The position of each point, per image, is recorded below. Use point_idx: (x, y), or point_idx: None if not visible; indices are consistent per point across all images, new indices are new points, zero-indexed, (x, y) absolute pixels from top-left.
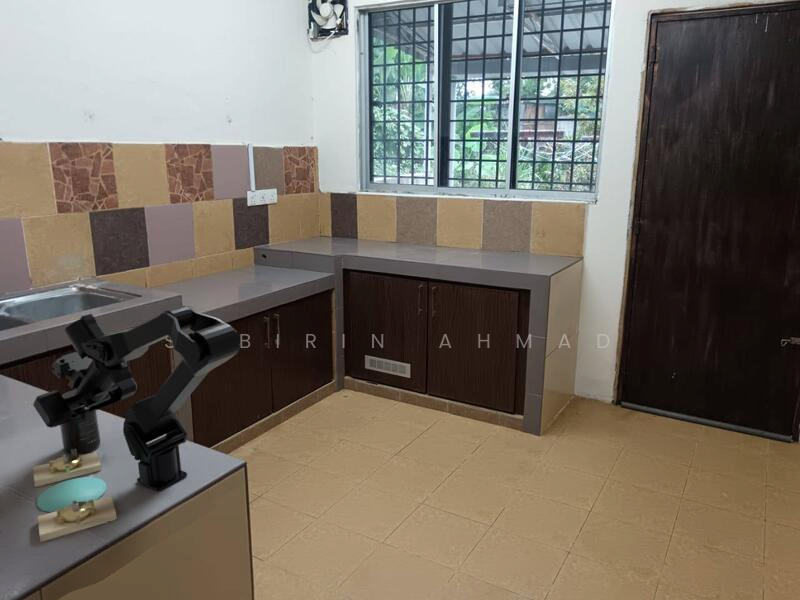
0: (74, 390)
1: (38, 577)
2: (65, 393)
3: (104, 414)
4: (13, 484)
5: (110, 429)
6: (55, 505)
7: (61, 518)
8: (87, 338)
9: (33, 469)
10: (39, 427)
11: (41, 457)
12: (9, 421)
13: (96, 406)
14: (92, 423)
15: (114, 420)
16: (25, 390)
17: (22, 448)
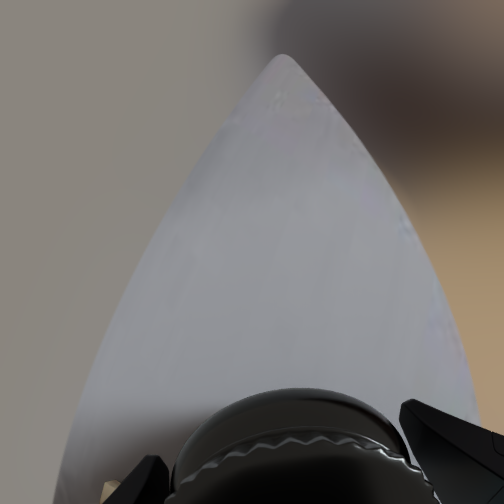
0: (353, 463)
1: None
2: (225, 477)
3: (417, 241)
4: (69, 480)
5: (412, 368)
6: None
7: None
8: None
9: (102, 495)
10: (249, 201)
11: (163, 410)
12: (217, 139)
13: (422, 450)
14: None
15: (436, 304)
16: (291, 70)
17: (157, 300)
